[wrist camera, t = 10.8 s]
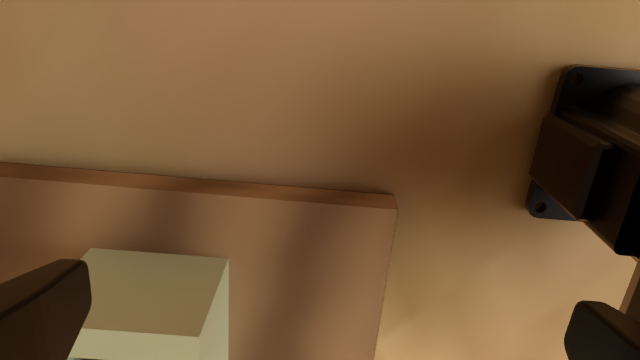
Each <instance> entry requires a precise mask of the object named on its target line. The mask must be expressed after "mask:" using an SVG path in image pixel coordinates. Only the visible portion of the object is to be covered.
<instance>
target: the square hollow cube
mask: <svg viewBox="0 0 640 360" xmlns="http://www.w3.org/2000/svg"><path fill="white" fill-rule="evenodd" d="M80 260H84V261H85V262H86V263H87V265H88V269H89V277H90V285H91V294H92V304H91V308H90V311H89V313H88V316H87V318H86V320H85V322H84V324H83V326H82V329H81V331H80V333H79V335H78V337H77V339H76V341H75V344H74V346H73V348H72V350H71V352H70V354H69V357H68V359H67V360H228V307H229V258H217V257H204V256H191V255H178V254H164V253H151V252H138V251H125V250H112V249H99V248H90V249H89V250H88V251H87V252H86V253H85V254H84V256H83V257H82V258H81V259H80Z"/></svg>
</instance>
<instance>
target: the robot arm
mask: <svg viewBox="0 0 640 360" xmlns="http://www.w3.org/2000/svg"><path fill="white" fill-rule="evenodd" d="M575 73H578V74H579V79H578V81H577V82H575V83H573V84H571V77H572V75H574V74H575ZM529 174H530V176H531V177H532V181H531V184H530V188H529V192H528V195H527V199H526V203H525V207H526V209H527V211H528V212H529V213H530V214H531V215H532V216H533V217H536V218H545V219H557V220H569V221H581V222H583V223H584V224H585V225H586V226H587V227H588V228H590V229H591V230H592V231H593V232H594V233H595V234H596V235H597V236H598V237H599V238H600V239H601V240H602V241H603V242H604V243H605V244H607V245H608V246H609V247H610V248H611V249H612V250H613V251H614V252H615V253H616V254H619V255H626V256H631V257H632V258H633V259H634V260H635V261H636V262H637V265H636V268H635V270H634V273H633V275H632V278H631V281H630V283H629V286H628V288H627V291H626V293H625V296H624V299H623V301H622V304H621V306H620V309H619V311H618V310H616V309H615V308H613V307H611V306H609V305H607V304H605V303H603V302H596V301H580V302H578V303H577V304H576V305H575V308H574V310H573V313H572V316H571V319H570V322H569V325H568V327H567V330H566V333H565V337H564V346H565V350H566V353H567V356H568V359H569V360H640V70H634V69H622V68H610V67H599V66H587V65H570V66H568V67H566V68H565V69H564V70H563V71H562V73H561V75H560V77H559V81H558V85H557V88H556V92H555V96H554V100H553V103H552V107H551V111H550V114H549V115H547V116H546V117H545V118H544V120H543V123H542V127H541V131H540V134H539V138H538V142H537V145H536V149H535V153H534V157H533V160H532V164H531V168H530V172H529ZM539 202H543V204H542V206H541V207H540V208H538V209H535V205H536V204H537V203H539ZM91 304H92V294H91V285H90V277H89V269H88V265H87V263H86V262H85V261H84V260H80V259H68V258H62V259H58V260H56V261H54V262H51V263H49V264H46V265H44V266H41V267H39V268H37V269H34V270H32V271H29V272H27V273H24V274H22V275H20V276H17V277H15V278H12V279H10V280H7V281H5V282H3V283H0V360H67V359H68V357H69V354H70V352H71V350H72V348H73V346H74V344H75V341H76V339H77V337H78V335H79V333H80V331H81V329H82V326H83V324H84V322H85V320H86V318H87V316H88V313H89V311H90V308H91Z"/></svg>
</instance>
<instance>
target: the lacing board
mask: <svg viewBox="0 0 640 360" xmlns="http://www.w3.org/2000/svg"><path fill="white" fill-rule="evenodd" d="M397 212H398V209H397V205H396V202H395V199H394V195H387V194H375V193H363V192H351V191H339V190H328V189H316V188H304V187H292V186H280V185H268V184H256V183H244V182H232V181H220V180H208V179H196V178H184V177H172V176H160V175H148V174H136V173H124V172H112V171H100V170H88V169H76V168H64V167H52V166H40V165H28V164H16V163H4V162H0V283H3V282H5V281H7V280H10V279H12V278H15V277H17V276H20V275H22V274H24V273H27V272H29V271H32V270H34V269H37V268H39V267H41V266H44V265H46V264H49V263H51V262H54V261H56V260H58V259H62V258H68V259H81V258H82V257H83V256H84V254H85V253H86V252H87V251H88V250H89V249H90V248H99V249H112V250H125V251H138V252H151V253H164V254H178V255H191V256H204V257H217V258H229V307H228V360H374V356H375V349H376V343H377V337H378V331H379V324H380V318H381V312H382V306H383V299H384V293H385V287H386V280H387V274H388V268H389V262H390V255H391V249H392V243H393V237H394V230H395V224H396V218H397Z"/></svg>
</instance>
